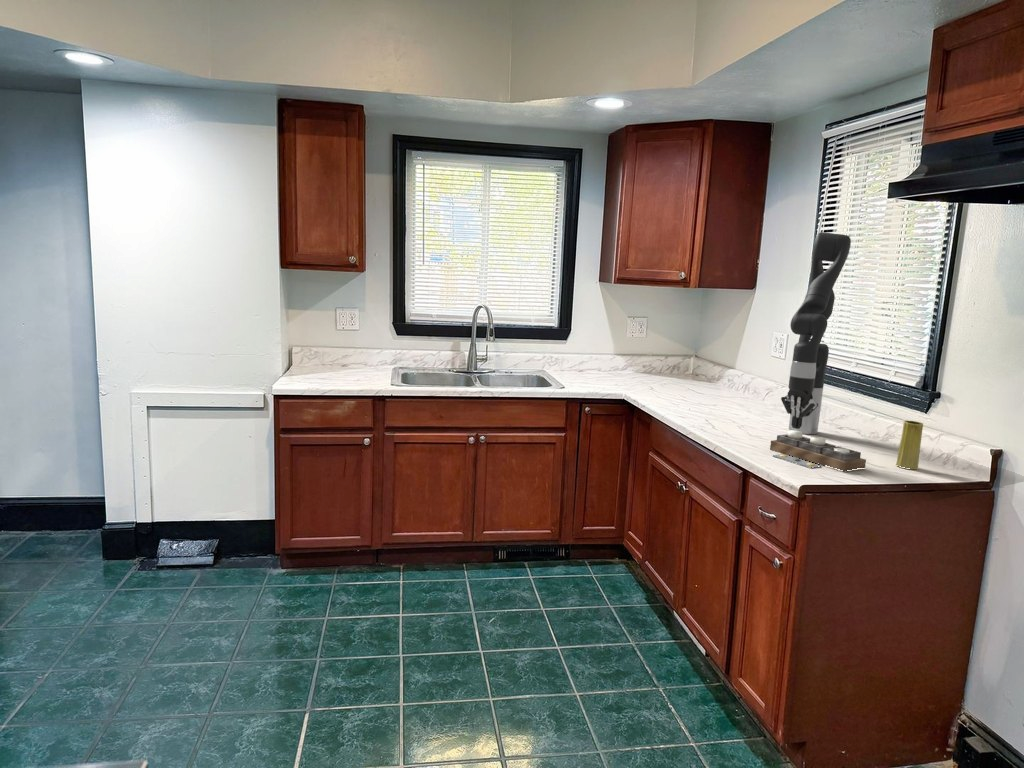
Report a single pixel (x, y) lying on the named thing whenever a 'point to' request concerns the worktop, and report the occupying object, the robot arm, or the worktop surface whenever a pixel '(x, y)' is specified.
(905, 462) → the vase
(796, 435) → the button left
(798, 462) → the pattern card
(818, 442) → the button middle
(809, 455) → the button board
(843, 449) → the button right
